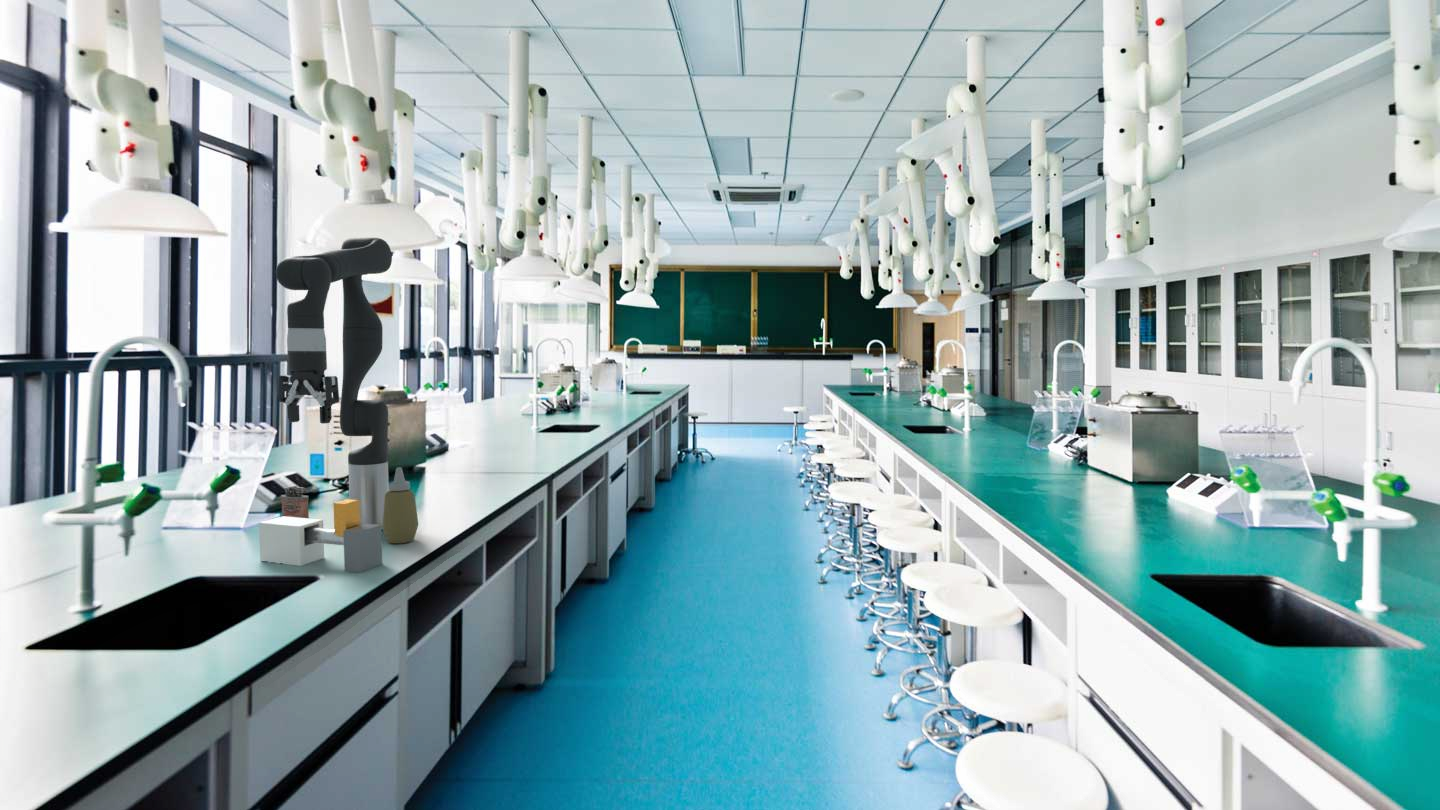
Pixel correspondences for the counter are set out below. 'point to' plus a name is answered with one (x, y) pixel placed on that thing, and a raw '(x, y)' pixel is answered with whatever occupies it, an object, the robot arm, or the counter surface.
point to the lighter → (295, 502)
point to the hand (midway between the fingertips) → (309, 422)
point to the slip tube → (336, 524)
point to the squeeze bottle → (400, 511)
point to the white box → (289, 541)
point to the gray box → (362, 547)
